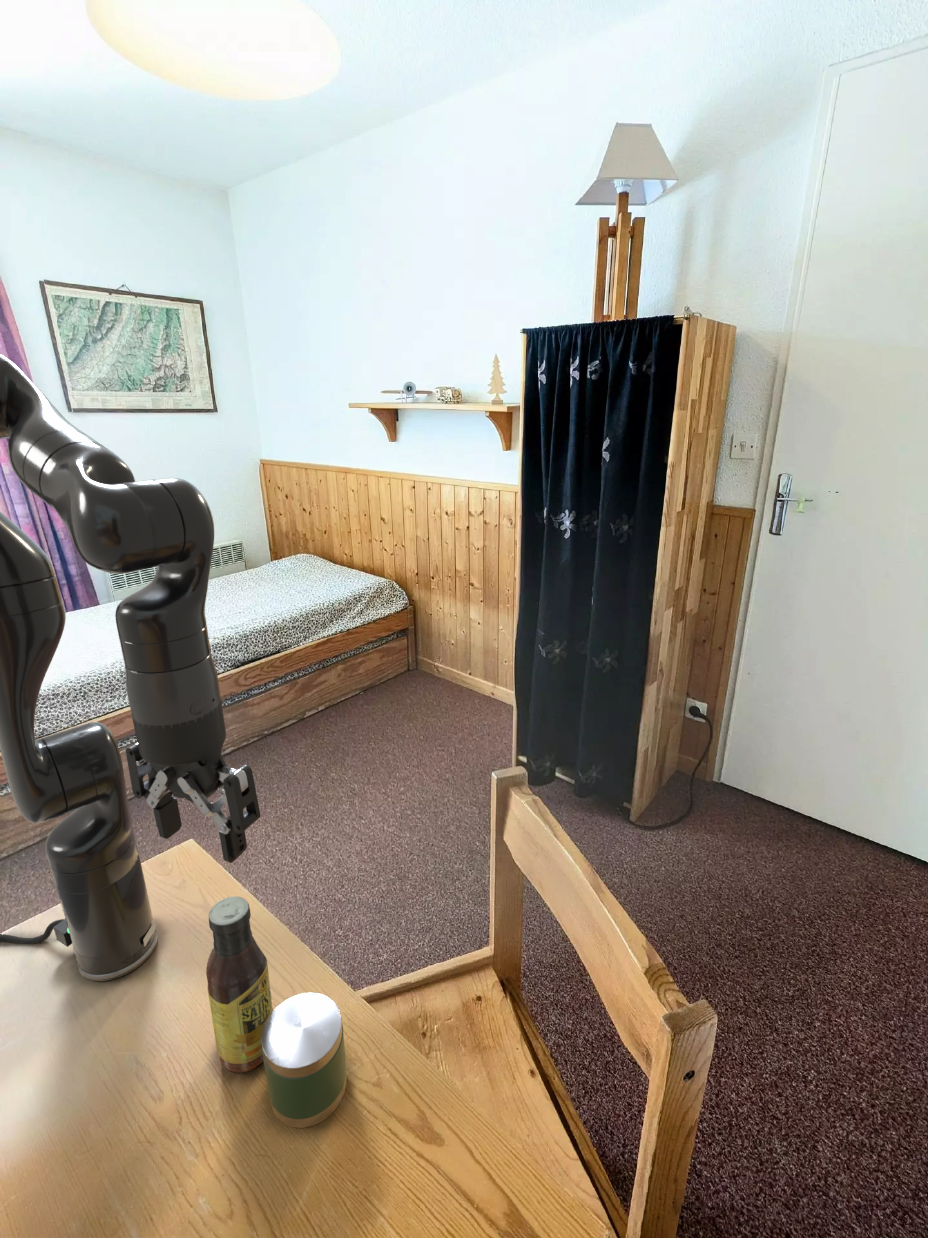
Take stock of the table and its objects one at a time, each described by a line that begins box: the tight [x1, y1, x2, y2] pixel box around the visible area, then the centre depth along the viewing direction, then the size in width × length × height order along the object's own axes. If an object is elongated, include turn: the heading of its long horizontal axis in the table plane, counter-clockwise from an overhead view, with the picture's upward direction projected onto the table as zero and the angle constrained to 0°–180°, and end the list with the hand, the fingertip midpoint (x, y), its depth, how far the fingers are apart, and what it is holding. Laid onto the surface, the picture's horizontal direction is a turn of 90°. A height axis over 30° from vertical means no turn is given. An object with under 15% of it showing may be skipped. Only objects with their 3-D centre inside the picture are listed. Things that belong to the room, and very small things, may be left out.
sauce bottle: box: [205, 895, 274, 1074], centre depth 66 cm, size 6×6×20 cm
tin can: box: [262, 991, 348, 1129], centre depth 64 cm, size 8×8×9 cm
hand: (202, 844), depth 61 cm, fingers open, 8 cm apart
